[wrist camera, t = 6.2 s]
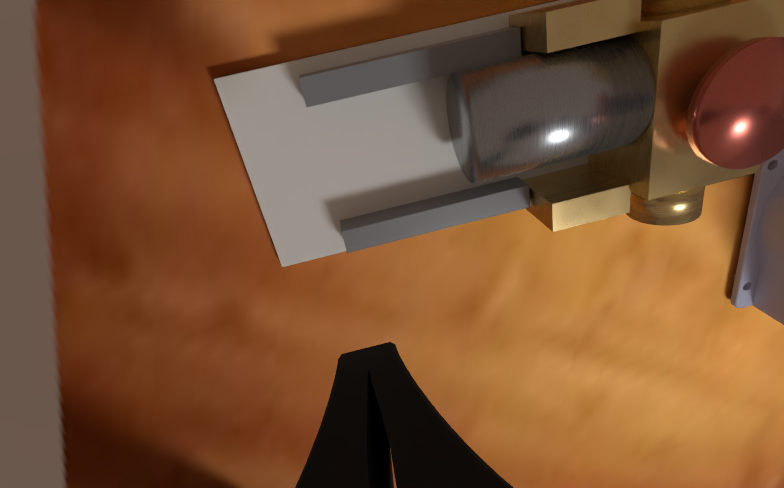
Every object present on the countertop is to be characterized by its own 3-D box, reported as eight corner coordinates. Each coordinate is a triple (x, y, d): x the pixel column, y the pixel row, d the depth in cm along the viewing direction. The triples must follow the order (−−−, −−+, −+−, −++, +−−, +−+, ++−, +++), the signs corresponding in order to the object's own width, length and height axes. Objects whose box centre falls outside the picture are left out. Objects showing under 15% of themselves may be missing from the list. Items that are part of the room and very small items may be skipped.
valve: (679, 182, 21) (786, 227, 16) (522, 222, 20) (584, 280, 16) (706, -58, 16) (863, -92, 12) (506, -13, 16) (586, -30, 11)
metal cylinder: (596, 148, 19) (661, 143, 15) (460, 182, 18) (490, 185, 14) (581, 50, 18) (647, 17, 14) (439, 83, 18) (466, 59, 14)
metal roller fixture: (677, 164, 21) (703, 173, 19) (283, 262, 20) (280, 280, 18) (697, -32, 17) (732, -37, 16) (215, 78, 16) (206, 82, 15)
